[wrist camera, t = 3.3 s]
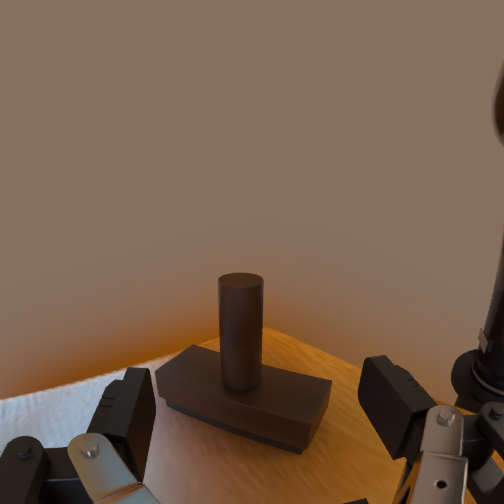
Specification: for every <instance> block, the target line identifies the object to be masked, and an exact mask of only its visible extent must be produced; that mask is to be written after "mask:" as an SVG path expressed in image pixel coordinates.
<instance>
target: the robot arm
mask: <svg viewBox="0 0 504 504" xmlns="http://www.w3.org/2000/svg"><path fill="white" fill-rule="evenodd" d="M491 121H492V126H493V130H494V133H495V136H496V137H497V139H498V141H499V142H500V144H501V145H502V146H503V147H504V57H503V59H502V62H501V65H500V67H499V70H498V73H497V76H496V79H495V83H494V88H493V93H492V100H491ZM478 340H479V342H480V343H479V347H478V350H477V353H476V356H475V359H474V360H473V363H472V366H471V375H472V377H473V379H474V380H475V382H476V383H477V384H478V385H479V386H480V387H481V388H483V389H484V390H486V391H487V392H489V393H491V394H493V395H496V396H498V397H502V398H504V227H503V236H502V244H501V251H500V258H499V263H498V269H497V274H496V280H495V285H494V290H493V294H492V299H491V303H490V307H489V311H488V315H487V319H486V323H485V327H484V330H483V331H482V328H481V329H480V333H479V336H478ZM358 399H359V403H360V405H361V407H362V408H363V410H364V412H365V413H366V415H367V417H368V418H369V420H370V422H371V423H372V425H373V427H374V428H375V430H376V432H377V433H378V435H379V437H380V439H381V440H382V442H383V444H384V445H385V447H386V449H387V450H388V452H389V454H390V455H391V457H392V459H393V460H395V459H399V458H402V457H405V458H406V459H407V461H406V463H405V465H404V468H403V471H402V475H401V478H400V481H399V484H398V488H397V491H396V494H395V497H394V500H393V502H392V504H464V499H465V491H466V486H467V488H468V489H469V491H470V493H471V494H472V496H473V497H474V499H475V501H476V502H477V504H504V474H503V472H502V471H501V470H500V468H499V467H498V466H497V464H496V463H495V462H494V460H493V459H492V458H491V455H492V454H493V452H494V451H495V450H496V451H497V452H498V453H499V455H500V456H501V457H502V459H503V460H504V404H503V403H500V402H488V403H486V404H484V405H483V406H482V408H481V410H480V413H479V414H477V415H466V416H463V415H462V414H461V413H460V411H458V410H457V409H456V408H453V407H451V406H447V405H437V403H436V402H435V401H434V400H433V399H432V398H431V397H430V396H429V395H428V393H427V392H426V391H425V390H424V389H423V388H422V387H421V386H420V384H419V383H418V382H417V381H416V380H414V378H413V377H412V376H411V374H410V373H409V372H408V371H407V370H405V369H403V368H401V367H400V366H398V365H394V364H393V363H392V362H391V361H390V360H389V359H388V358H387V356H385V355H381V356H374V357H368V358H366V359H365V360H364V364H363V369H362V373H361V378H360V383H359V387H358ZM155 416H156V403H155V397H154V392H153V386H152V381H151V375H150V371H149V369H148V368H134V367H128V368H127V371H126V373H125V376H124V378H123V380H114V381H113V382H112V383H110V384H109V385H108V386H107V387H106V388H105V390H104V393H103V395H102V399H100V402H99V404H98V406H97V408H96V411H95V413H94V415H93V418H92V420H91V422H90V425H89V427H88V429H87V432H86V433H84V434H81V435H78V436H76V437H75V438H74V439H72V440H71V441H70V443H69V445H68V447H62V448H43V446H42V444H41V443H40V441H39V440H37V439H36V438H33V437H30V436H21V437H17V438H15V439H13V440H12V441H10V442H9V443H8V444H7V446H6V448H5V450H4V451H3V453H2V455H1V457H0V504H160V503H159V502H158V500H157V499H156V498H155V497H154V496H153V494H152V493H151V492H150V491H149V489H148V488H147V487H146V486H145V485H144V484H143V483H139V482H143V479H144V473H145V467H146V462H147V457H148V451H149V446H150V441H151V436H152V431H153V426H154V421H155ZM344 504H369V503H368V501H367V499H366V498H364V499H361V500H357V501H353V502H348V503H344Z"/></svg>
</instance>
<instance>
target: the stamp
mask: <svg viewBox="0 0 504 504" xmlns="http://www.w3.org/2000/svg"><path fill="white" fill-rule="evenodd" d="M263 283H264V281H263V278H262V277H261V276H258V275H255V274H250V273H231V274H226V275H223V276H221V277H220V278H219V279H218V297H219V298H218V301H219V332H220V353H219V352H216V351H212V350H209V349H206V348H203V347H199V346H196V345H191V346H190V347H188V348H187V349H185V350H184V351H183V352H181V353H180V354H178V355H177V356H176V357H174V358H173V359H171V360H170V361H169V362H167V363H166V364H164V365H163V366H161V367H160V368H159V369H157V370H156V371H155V377H156V383H157V389H158V394H159V397H161V398H164V399H166V404H167V406H169V407H171V408H173V409H175V410H178V411H180V412H182V413H184V414H187V415H189V416H191V417H194V418H196V419H199V420H201V421H203V422H206V423H208V424H211V425H214V426H216V427H219V428H221V429H224V430H227V431H229V432H232V433H235V434H238V435H241V436H243V437H246V438H249V439H252V440H255V441H258V442H261V443H264V444H268V445H271V446H274V447H277V448H281V449H284V450H287V451H291V452H295V453H298V454H302V452H303V450H304V449H307V448H308V447H309V445H310V443H311V441H312V439H313V437H314V434H315V432H316V430H317V428H318V426H319V424H320V422H321V420H322V418H323V416H324V413H325V411H326V409H327V407H328V403H329V398H330V392H331V386H332V380H327V379H322V378H318V377H313V376H308V375H304V374H300V373H295V372H291V371H287V370H283V369H278V368H274V367H270V366H267V365H263V364H262V329H263Z"/></svg>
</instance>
